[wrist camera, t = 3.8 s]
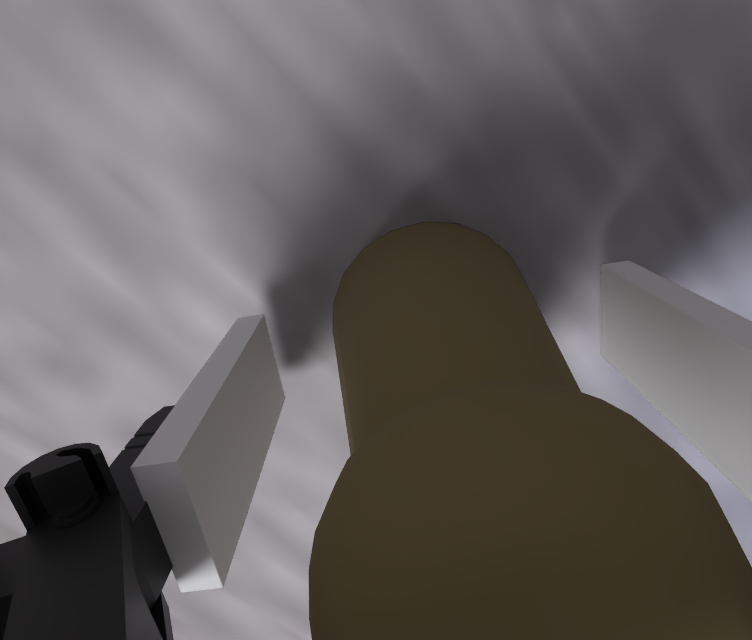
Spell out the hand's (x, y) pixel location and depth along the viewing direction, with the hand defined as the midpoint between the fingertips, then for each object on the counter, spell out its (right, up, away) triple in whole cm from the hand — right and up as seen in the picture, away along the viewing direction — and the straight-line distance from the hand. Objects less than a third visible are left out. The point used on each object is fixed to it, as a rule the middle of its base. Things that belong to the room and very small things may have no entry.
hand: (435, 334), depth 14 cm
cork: (0, 0, +1) cm, 1 cm away
